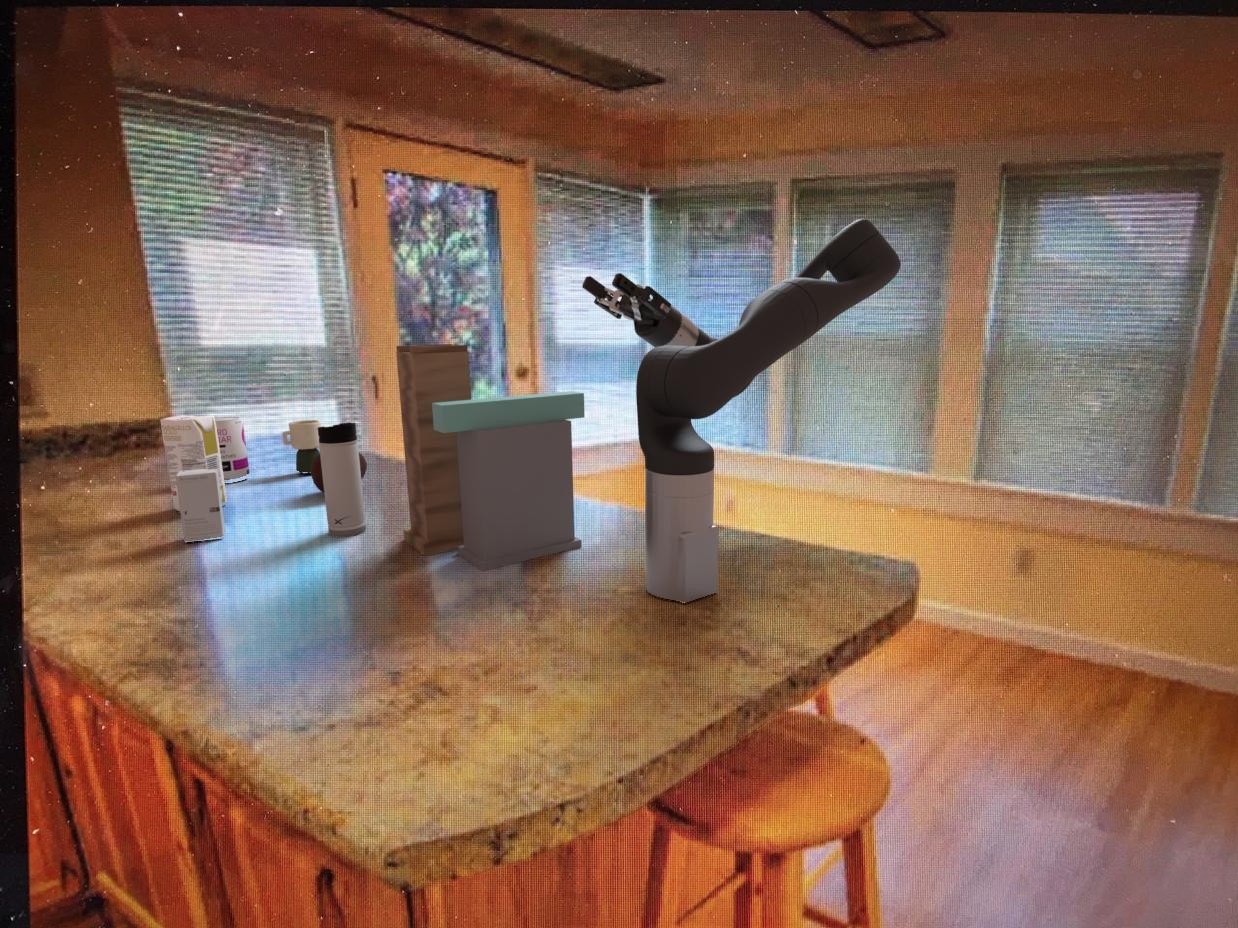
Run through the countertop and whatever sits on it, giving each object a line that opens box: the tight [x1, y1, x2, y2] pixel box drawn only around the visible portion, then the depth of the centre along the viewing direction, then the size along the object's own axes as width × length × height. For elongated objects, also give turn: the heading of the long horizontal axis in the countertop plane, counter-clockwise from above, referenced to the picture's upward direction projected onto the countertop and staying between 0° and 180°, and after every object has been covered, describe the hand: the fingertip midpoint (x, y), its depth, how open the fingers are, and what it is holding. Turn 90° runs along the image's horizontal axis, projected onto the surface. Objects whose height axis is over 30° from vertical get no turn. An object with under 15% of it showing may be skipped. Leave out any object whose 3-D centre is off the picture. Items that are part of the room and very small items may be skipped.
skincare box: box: [176, 468, 226, 542], centre depth 117 cm, size 6×4×12 cm
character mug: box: [282, 419, 322, 473], centre depth 167 cm, size 11×7×13 cm, turn 135°
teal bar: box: [432, 390, 585, 433], centre depth 105 cm, size 4×24×4 cm, turn 125°
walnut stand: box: [395, 343, 472, 557], centre depth 111 cm, size 10×11×33 cm
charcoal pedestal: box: [457, 419, 582, 572], centre depth 108 cm, size 10×18×21 cm, turn 126°
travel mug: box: [318, 422, 367, 538], centre depth 119 cm, size 6×7×20 cm
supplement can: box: [215, 416, 251, 480], centre depth 160 cm, size 8×8×15 cm
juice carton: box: [160, 414, 227, 510], centre depth 135 cm, size 8×9×19 cm
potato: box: [310, 452, 368, 494], centre depth 147 cm, size 11×13×10 cm
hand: (599, 279), depth 108 cm, fingers open, 8 cm apart
